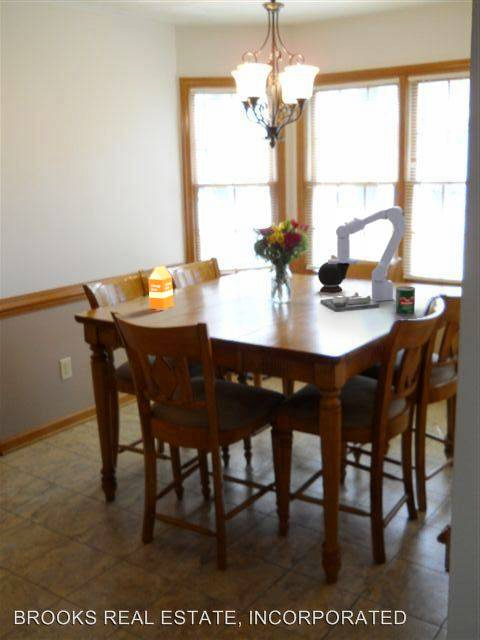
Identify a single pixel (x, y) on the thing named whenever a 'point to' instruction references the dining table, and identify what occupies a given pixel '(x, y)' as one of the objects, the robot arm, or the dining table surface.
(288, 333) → the dining table surface
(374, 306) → the bolt plate
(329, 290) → the black ball on base
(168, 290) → the orange juice
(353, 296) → the leg
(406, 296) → the canned tomato
